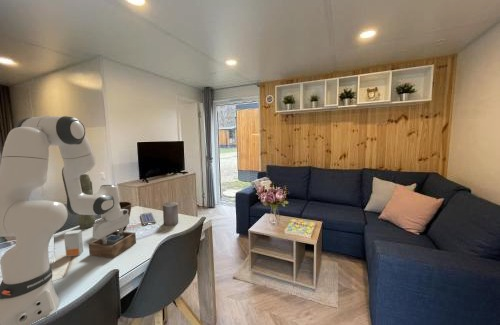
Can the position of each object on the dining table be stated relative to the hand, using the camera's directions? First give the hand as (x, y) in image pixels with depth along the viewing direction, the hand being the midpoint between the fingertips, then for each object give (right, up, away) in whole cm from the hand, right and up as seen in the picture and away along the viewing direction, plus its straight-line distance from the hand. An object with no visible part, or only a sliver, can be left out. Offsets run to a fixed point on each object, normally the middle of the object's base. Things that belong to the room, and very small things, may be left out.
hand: (113, 239), depth 117 cm
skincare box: (-17, -6, -5) cm, 18 cm away
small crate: (0, -4, 0) cm, 4 cm away
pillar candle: (+18, -1, +35) cm, 40 cm away
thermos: (-36, -2, +30) cm, 47 cm away
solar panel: (-1, -1, +42) cm, 42 cm away
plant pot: (-12, -2, +26) cm, 28 cm away
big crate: (0, -5, +1) cm, 5 cm away
